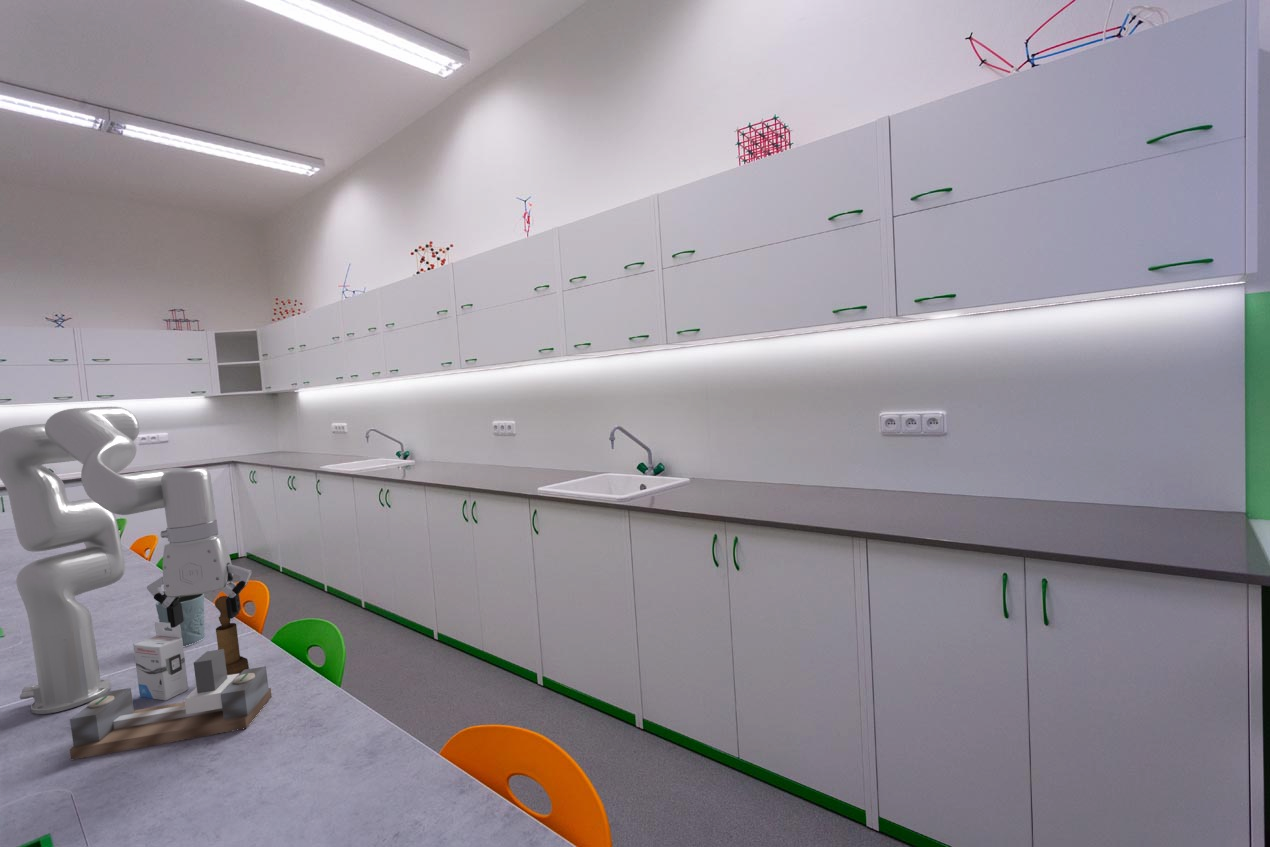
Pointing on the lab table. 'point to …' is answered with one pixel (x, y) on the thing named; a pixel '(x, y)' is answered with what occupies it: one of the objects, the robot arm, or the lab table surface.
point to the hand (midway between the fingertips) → (206, 620)
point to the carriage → (209, 682)
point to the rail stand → (164, 718)
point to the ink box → (161, 664)
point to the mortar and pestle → (229, 640)
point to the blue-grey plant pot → (187, 618)
